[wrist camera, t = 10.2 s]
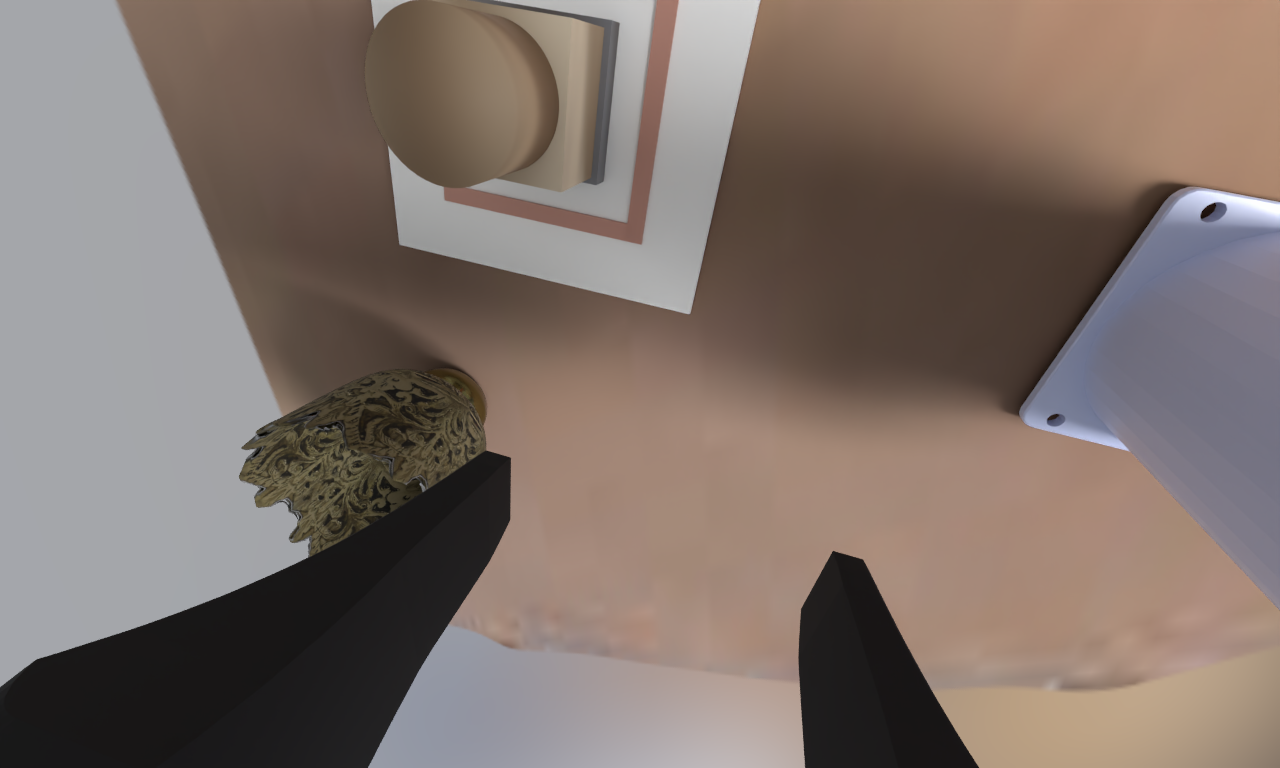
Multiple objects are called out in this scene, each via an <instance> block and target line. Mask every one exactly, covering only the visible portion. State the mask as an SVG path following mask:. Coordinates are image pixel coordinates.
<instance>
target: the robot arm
mask: <svg viewBox="0 0 1280 768" xmlns="http://www.w3.org/2000/svg"><path fill="white" fill-rule="evenodd" d="M1214 202H1215V203H1216V208H1215V210H1214V212H1213V213H1212V214H1210V215H1209V216H1208V217H1205V218H1203V219H1201V217H1200V215H1201V212H1202V210H1203V209H1204V208H1205V207H1207V206H1208V205H1210V204H1212V203H1214ZM1054 414H1059V416H1058V417H1057V418H1056V419H1053V420H1047V418H1048V417H1050V416H1051V415H1054ZM1019 415H1020V417H1021V419H1022V420H1023V422H1024V423H1025V424H1026V425H1028V426H1030V427H1033V428H1037V429H1041V430H1045V431H1049V432H1054V433H1058V434H1062V435H1066V436H1070V437H1074V438H1078V439H1082V440H1086V441H1090V442H1094V443H1098V444H1102V445H1106V446H1110V447H1114V448H1118V449H1122V450H1126V451H1130V452H1131V453H1132V454H1133V455H1134V456H1135V457H1136V458H1137V459H1138V460H1139V461H1140V462H1141V463H1142V464H1143V466H1144V467H1145V468H1146V469H1147V470H1148V471H1149V472H1150V473H1151V474H1152V475H1153V476H1154V477H1155V478H1156V479H1157V480H1158V481H1159V483H1160V484H1161V485H1162V486H1163V487H1164V488H1165V489H1166V490H1167V491H1168V492H1169V493H1170V494H1171V495H1172V496H1173V497H1174V498H1175V500H1176V501H1177V502H1178V503H1179V504H1180V505H1181V506H1182V507H1183V508H1184V509H1185V510H1186V511H1187V512H1188V513H1189V514H1190V516H1191V517H1192V518H1193V519H1194V520H1195V521H1196V522H1197V523H1198V524H1199V525H1200V526H1201V527H1202V528H1203V529H1204V530H1205V531H1206V533H1207V534H1208V535H1209V536H1210V537H1211V538H1212V539H1213V540H1214V541H1215V542H1216V543H1217V544H1218V545H1219V546H1220V547H1221V548H1222V550H1223V551H1224V552H1225V553H1226V554H1227V555H1228V556H1229V557H1230V558H1231V559H1232V560H1233V561H1234V562H1235V563H1236V564H1237V565H1238V567H1239V568H1240V569H1241V570H1242V571H1243V572H1244V573H1245V574H1246V575H1247V576H1248V577H1249V578H1250V579H1251V580H1252V581H1253V582H1254V584H1255V585H1256V586H1257V587H1258V588H1259V589H1260V590H1261V591H1262V592H1263V593H1264V594H1265V595H1266V596H1267V597H1268V598H1269V600H1270V601H1271V602H1272V603H1273V604H1274V605H1275V606H1276V607H1277V608H1278V609H1279V610H1280V202H1278V201H1273V200H1267V199H1262V198H1256V197H1251V196H1245V195H1240V194H1235V193H1229V192H1224V191H1218V190H1213V189H1208V188H1202V187H1187V188H1183V189H1180V190H1178V191H1177V192H1175V193H1173V194H1172V195H1170V196H1169V197H1168V199H1167V200H1166V201H1165V202H1164V203H1163V204H1162V206H1161V207H1160V209H1159V210H1158V212H1157V213H1156V214H1155V216H1154V217H1153V219H1152V220H1151V222H1150V223H1149V224H1148V226H1147V227H1146V229H1145V230H1144V232H1143V233H1142V235H1141V236H1140V237H1139V239H1138V240H1137V242H1136V243H1135V245H1134V246H1133V247H1132V249H1131V250H1130V252H1129V253H1128V255H1127V256H1126V257H1125V259H1124V260H1123V262H1122V263H1121V265H1120V266H1119V267H1118V269H1117V270H1116V272H1115V273H1114V275H1113V276H1112V278H1111V279H1110V280H1109V282H1108V283H1107V285H1106V286H1105V288H1104V289H1103V290H1102V292H1101V293H1100V295H1099V296H1098V298H1097V299H1096V300H1095V302H1094V303H1093V305H1092V306H1091V308H1090V309H1089V310H1088V312H1087V313H1086V315H1085V316H1084V318H1083V319H1082V321H1081V322H1080V323H1079V325H1078V326H1077V328H1076V329H1075V331H1074V332H1073V333H1072V335H1071V336H1070V338H1069V339H1068V341H1067V342H1066V343H1065V345H1064V346H1063V348H1062V349H1061V351H1060V352H1059V353H1058V355H1057V356H1056V358H1055V359H1054V361H1053V362H1052V363H1051V365H1050V366H1049V368H1048V369H1047V371H1046V372H1045V374H1044V375H1043V376H1042V378H1041V379H1040V381H1039V382H1038V384H1037V385H1036V386H1035V388H1034V389H1033V391H1032V392H1031V394H1030V395H1029V396H1028V398H1027V399H1026V401H1025V402H1024V404H1023V405H1022V406H1021V408H1020V411H1019ZM510 486H511V458H510V457H507V456H503V455H500V454H496V453H493V452H489V451H484V452H482V453H481V454H479V455H478V456H476V457H475V458H473V459H472V460H470V461H469V462H467V463H466V464H464V465H463V466H461V467H460V468H458V469H457V470H455V471H454V472H452V473H451V474H449V475H448V476H447V477H445V478H444V479H442V480H440V481H439V482H437V483H436V484H434V485H433V486H431V487H430V488H428V489H427V490H425V491H424V492H422V493H421V494H419V495H417V496H416V497H414V498H413V499H411V500H410V501H408V502H406V503H405V504H403V505H402V506H400V507H399V508H397V509H395V510H394V511H392V512H390V513H389V514H387V515H385V516H384V517H382V518H380V519H378V520H377V521H375V522H373V523H371V524H370V525H368V526H366V527H365V528H363V529H361V530H359V531H358V532H356V533H354V534H352V535H351V536H349V537H347V538H345V539H343V540H341V541H340V542H338V543H336V544H334V545H332V546H330V547H328V548H326V549H324V550H322V551H320V552H318V553H316V554H314V555H312V556H310V557H308V558H306V559H304V560H302V561H300V562H298V563H296V564H294V565H292V566H290V567H288V568H285V569H283V570H281V571H279V572H276V573H275V574H272V575H270V576H268V577H265V578H263V579H261V580H258V581H256V582H254V583H252V584H249V585H247V586H245V587H242V588H240V589H238V590H235V591H233V592H231V593H228V594H226V595H223V596H221V597H218V598H216V599H213V600H211V601H208V602H205V603H203V604H200V605H197V606H195V607H193V608H190V609H187V610H184V611H182V612H180V613H177V614H174V615H171V616H168V617H165V618H163V619H160V620H157V621H154V622H152V623H149V624H146V625H143V626H140V627H137V628H134V629H131V630H128V631H125V632H122V633H119V634H116V635H113V636H110V637H107V638H104V639H100V640H97V641H94V642H91V643H88V644H85V645H82V646H79V647H75V648H72V649H69V650H66V651H63V652H60V653H57V654H53V655H50V656H47V657H43V658H40V659H37V660H35V661H34V662H33V663H31V664H30V665H29V666H27V667H26V668H24V669H23V670H22V671H21V672H19V673H18V674H17V675H15V676H14V677H13V678H12V679H10V680H9V681H8V682H6V683H5V684H4V685H3V686H1V687H0V768H368V766H369V764H370V763H371V761H372V759H373V757H374V755H375V753H376V751H377V749H378V747H379V745H380V743H381V741H382V739H383V737H384V735H385V733H386V732H387V729H388V727H389V726H390V724H391V722H392V720H393V718H394V716H395V714H396V712H397V710H398V708H399V707H400V705H401V703H402V701H403V699H404V697H405V696H406V694H407V692H408V690H409V688H410V686H411V684H412V683H413V681H414V679H415V677H416V675H417V673H418V671H419V669H420V668H421V666H422V665H423V663H424V661H425V660H426V658H427V656H428V655H429V653H430V651H431V650H432V648H433V647H434V645H435V644H436V642H437V641H438V639H439V638H440V636H441V635H442V633H443V632H444V630H445V628H446V627H447V626H448V624H449V622H450V621H451V619H452V618H453V616H454V615H455V613H456V612H457V610H458V609H459V607H460V606H461V604H462V603H463V601H464V600H465V598H466V597H467V595H468V594H469V592H470V591H471V589H472V587H473V586H474V584H475V583H476V581H477V580H478V578H479V577H480V575H481V574H482V572H483V571H484V569H485V567H486V566H487V564H488V563H489V561H490V559H491V557H492V555H493V554H494V552H495V550H496V548H497V546H498V544H499V542H500V540H501V538H502V536H503V534H504V532H505V529H506V527H507V525H508V523H509V521H510ZM799 677H800V694H801V710H802V725H803V741H804V756H805V768H979V767H978V765H977V764H976V762H975V761H974V759H973V758H972V756H971V755H970V753H969V751H968V750H967V748H966V747H965V745H964V744H963V742H962V740H961V739H960V737H959V736H958V734H957V732H956V731H955V729H954V727H953V726H952V724H951V722H950V721H949V719H948V717H947V716H946V714H945V712H944V711H943V709H942V707H941V706H940V704H939V702H938V701H937V699H936V697H935V695H934V694H933V692H932V690H931V688H930V687H929V685H928V683H927V681H926V680H925V678H924V676H923V674H922V672H921V670H920V669H919V667H918V665H917V663H916V661H915V659H914V658H913V656H912V654H911V652H910V650H909V649H908V647H907V645H906V643H905V641H904V639H903V637H902V635H901V633H900V632H899V630H898V628H897V626H896V624H895V622H894V620H893V618H892V616H891V614H890V612H889V610H888V608H887V606H886V604H885V602H884V600H883V598H882V596H881V594H880V592H879V590H878V588H877V586H876V584H875V582H874V580H873V578H872V576H871V574H870V572H869V570H868V568H867V566H866V564H865V562H864V561H863V559H859V558H856V557H852V556H849V555H845V554H842V553H838V552H835V551H833V552H832V554H831V556H830V558H829V559H828V561H827V563H826V565H825V567H824V568H823V570H822V572H821V574H820V576H819V577H818V579H817V581H816V583H815V585H814V587H813V588H812V590H811V592H810V594H809V596H808V597H807V599H806V601H805V603H804V605H803V607H802V608H801V620H800V635H799Z"/></svg>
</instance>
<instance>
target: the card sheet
mask: <svg viewBox="0 0 1280 768" xmlns="http://www.w3.org/2000/svg"><path fill="white" fill-rule="evenodd" d="M408 1H412V0H371V3H372V12H373V20H374V29H375V28H376V26H377V24H378V23H379V21H380V20H381V19H382V18H383V17H384V15H385V14H387V13H388V12H389V11H390V10H391V9H393V8H394V7H396V6H398V5H400V4H402V3H405V2H408ZM495 1H501V2H507V3H513V4H519V5H525V6H531V7H537V8H543V9H549V10H555V11H561V12H567V13H573V14H578V15H584V16H590V17H596V18H602V19H608V20H613V21H616V22H619V23H620V26H619V36H618V45H617V55H616V65H615V75H614V85H613V95H612V104H611V114H610V124H609V134H608V144H607V154H606V163H605V173H604V181H603V182H602V183H600V184H598V185H592V184H587V183H583V182H582V183H580V184H578V185H576V186H574V187H572V188H570V189H568V190H566V191H564V192H557V191H552V190H548V189H543V188H538V187H534V186H529V185H524V184H520V183H515V182H511V181H506V180H501V179H497V178H495V179H492V180H489V181H486V182H483V183H480V184H477V185H474V186H471V187H465V188H448V187H442V186H439V185H436V184H433V183H431V182H429V181H426V180H425V179H423V178H421V177H419V176H418V175H416V174H415V173H414V172H412V171H411V170H410V169H408V168H407V167H406V166H405V165H404V164H403V163H402V162H401V161H400V160H399V159H398V158H397V156H396V155H395V154H394V153H393V152H392V150H391V149H390V148H389V146H388V150H389V158H390V167H391V175H392V184H393V193H394V201H395V210H396V219H397V227H398V236H399V245H403V246H407V247H411V248H415V249H419V250H423V251H428V252H432V253H436V254H440V255H444V256H448V257H452V258H457V259H461V260H465V261H469V262H473V263H477V264H482V265H486V266H490V267H494V268H498V269H502V270H507V271H511V272H515V273H519V274H523V275H527V276H531V277H536V278H540V279H544V280H548V281H552V282H556V283H561V284H565V285H569V286H573V287H577V288H581V289H586V290H590V291H594V292H598V293H602V294H606V295H610V296H615V297H619V298H623V299H627V300H631V301H635V302H640V303H644V304H648V305H652V306H656V307H660V308H665V309H669V310H673V311H677V312H681V313H685V314H689V315H690V313H691V309H692V305H693V300H694V296H695V292H696V287H697V283H698V278H699V274H700V269H701V265H702V260H703V256H704V251H705V247H706V242H707V238H708V233H709V229H710V224H711V220H712V215H713V211H714V206H715V202H716V198H717V193H718V189H719V184H720V180H721V175H722V171H723V166H724V162H725V157H726V153H727V148H728V144H729V139H730V135H731V130H732V126H733V121H734V117H735V112H736V108H737V104H738V99H739V95H740V90H741V86H742V81H743V77H744V72H745V68H746V63H747V59H748V54H749V50H750V45H751V41H752V36H753V32H754V27H755V23H756V18H757V14H758V10H759V5H760V1H761V0H495Z"/></svg>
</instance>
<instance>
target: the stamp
mask: <svg viewBox="0 0 1280 768" xmlns="http://www.w3.org/2000/svg"><path fill="white" fill-rule="evenodd" d="M619 26H620V23H619V22H616V21H613V20H608V19H602V18H596V17H590V16H584V15H578V14H573V13H567V12H561V11H555V10H549V9H543V8H537V7H531V6H525V5H519V4H513V3H507V2H501V1H495V0H412V1H408V2H405V3H402V4H400V5H398V6H396V7H394V8H393V9H391V10H390V11H389V12H388V13H387V14H385V15H384V17H383V18H382V19H381V20H380V21H379V23H378V24H377V26H376V28H375V29H374V31H373V33H372V36H371V38H370V40H369V44H368V48H367V51H366V58H365V75H364V76H365V88H366V93H367V99H368V103H369V106H370V110H371V113H372V115H373V118H374V121H375V123H376V125H377V127H378V129H379V131H380V133H381V135H382V137H383V138H384V140H385V142H386V143H387V145H388V146H389V148H390V149H391V150H392V152H393V153H394V154H395V155H396V156H397V158H398V159H399V160H400V161H401V162H402V163H403V164H404V165H405V166H406V167H407V168H408V169H410V170H411V171H412V172H414V173H415V174H416V175H418V176H419V177H421V178H423V179H425V180H426V181H429V182H431V183H433V184H436V185H439V186H442V187H448V188H465V187H471V186H474V185H477V184H480V183H483V182H486V181H489V180H492V179H495V178H497V179H501V180H506V181H511V182H515V183H520V184H524V185H529V186H534V187H538V188H543V189H548V190H552V191H557V192H564V191H566V190H568V189H570V188H572V187H574V186H576V185H578V184H580V183H582V182H583V183H587V184H592V185H598V184H600V183H602V182H603V181H604V173H605V163H606V154H607V144H608V134H609V124H610V114H611V104H612V95H613V85H614V75H615V65H616V55H617V45H618V36H619Z"/></svg>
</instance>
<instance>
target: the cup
mask: <svg viewBox="0 0 1280 768" xmlns="http://www.w3.org/2000/svg"><path fill="white" fill-rule="evenodd" d="M486 415H487V402H486V398H485V396H484V393H483V392H482V390H481V388H480V387H479V386H478V384H477V383H476V382H475V381H474V380H473V379H471V378H470V377H469V376H467V375H466V374H464V373H462V372H460V371H458V370H455V369H450V368H437V369H431V370H428V371H425V372H422V371H417V370H407V369H395V370H387V371H381V372H378V373H374V374H371V375H368V376H365V377H362V378H360V379H357V380H355V381H353V382H351V383H348V384H346V385H344V386H342V387H340V388H338V389H336V390H334V391H332V392H330V393H328V394H326V395H324V396H322V397H320V398H318V399H316V400H314V401H312V402H310V403H308V404H306V405H305V406H303V407H301V408H299V409H297V410H295V411H293V412H291V413H289V414H287V415H285V416H284V417H282V418H280V419H278V420H275V421H273V422H271V423H269V424H267V425H265V426H264V427H262V428H260V429H259V430H257V432H256V433H257V435H256V436H255V437H254V438H252V439H251V440H250V441H249V442H247V443H246V444H245V445H244V446H243V447H242V449H244V450H249V449H255V448H256V449H255V451H254V452H253V453H252V454H251V455H250V456H248V457H247V459H246V461H245V464H244V466H243V468H242V471H241V473H240V475H239V478H240V480H241V481H242V482H244V483H248V484H252V485H255V486H257V487H258V488H260V489H259V491H258V492H257V493H256V494H255V497H254V498H255V503H256V506H257V507H258V508H261V507H271V506H273V505H275V504H276V503H279V502H284V503H286V502H285V501H281V500H284V499H285V500H286V501H287V502H288V503H289V505H288V504H287V503H286V504H287V506H288V511H289V512H290V513H292V514H294V515H295V516H296V517H297V515H298V516H299V520H298V522H297V527H296V528H295V529H294V531H293V532H292V533H291V534H290V537H289V540H290V542H292V543H298V542H301V541H304V540H306V539H308V538H309V541H310V543H309V544H308V549H309V551H308V554H309V555H308V557H310V556H312V555H314V554H316V553H318V552H320V551H322V550H324V549H326V548H328V547H330V546H332V545H334V544H336V543H338V542H340V541H341V540H343V539H345V538H347V537H349V536H351V535H352V534H354V533H356V532H358V531H359V530H361V529H363V528H365V527H366V526H368V525H370V524H371V523H373V522H375V521H377V520H378V519H380V518H382V517H384V516H385V515H387V514H389V513H390V512H392V511H394V510H395V509H397V508H399V507H400V506H402V505H403V504H405V503H406V502H408V501H410V500H411V499H413V498H414V497H416V496H417V495H419V494H421V493H422V492H424V491H425V490H427V489H428V488H430V487H431V486H433V485H434V484H436V483H437V482H439V481H440V480H442V479H444V478H445V477H447V476H448V475H449V474H451V473H452V472H454V471H455V470H457V469H458V468H460V467H461V466H463V465H464V464H466V463H467V462H469V461H470V460H472V459H473V458H475V457H476V456H478V455H479V454H481V453H482V452H484V451H486V437H485V431H484V427H483V425H484V423H485V420H486ZM296 513H297V515H296ZM297 519H298V518H297Z"/></svg>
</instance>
